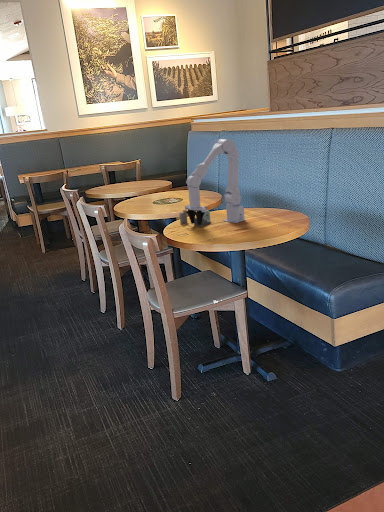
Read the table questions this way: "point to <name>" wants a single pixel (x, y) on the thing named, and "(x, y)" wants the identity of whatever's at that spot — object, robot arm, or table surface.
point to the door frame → (185, 216)
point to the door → (206, 215)
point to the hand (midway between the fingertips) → (196, 223)
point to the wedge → (204, 222)
